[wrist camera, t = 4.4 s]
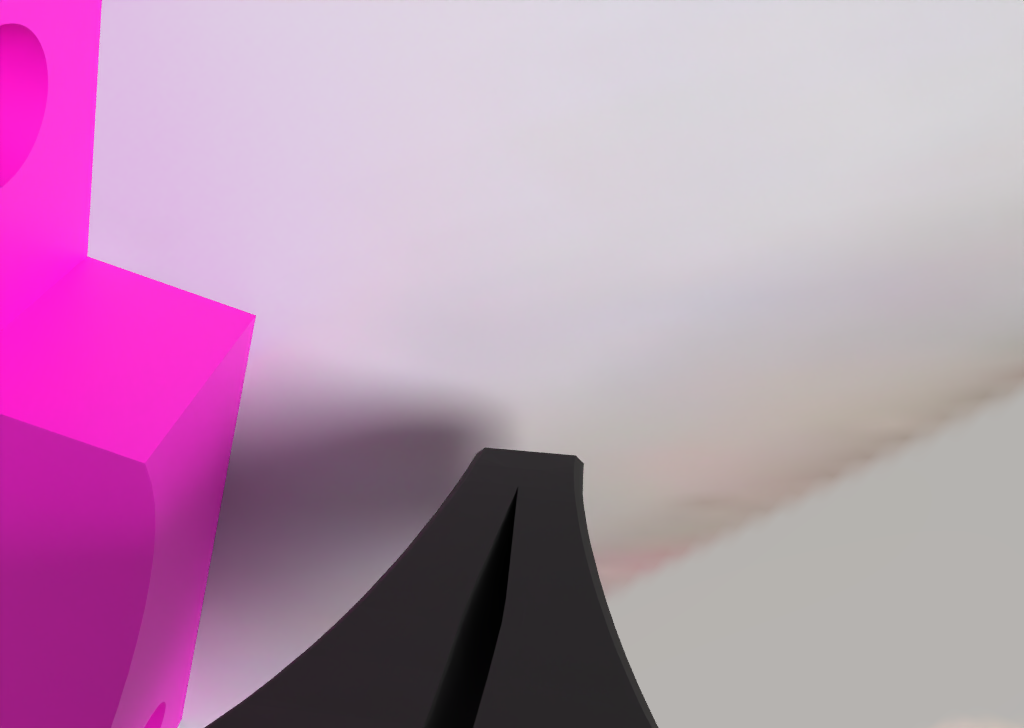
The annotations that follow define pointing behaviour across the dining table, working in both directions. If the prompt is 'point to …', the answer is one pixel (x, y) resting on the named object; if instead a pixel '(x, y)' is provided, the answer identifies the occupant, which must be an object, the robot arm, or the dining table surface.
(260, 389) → the dining table surface
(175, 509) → the toy block
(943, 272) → the dining table surface
